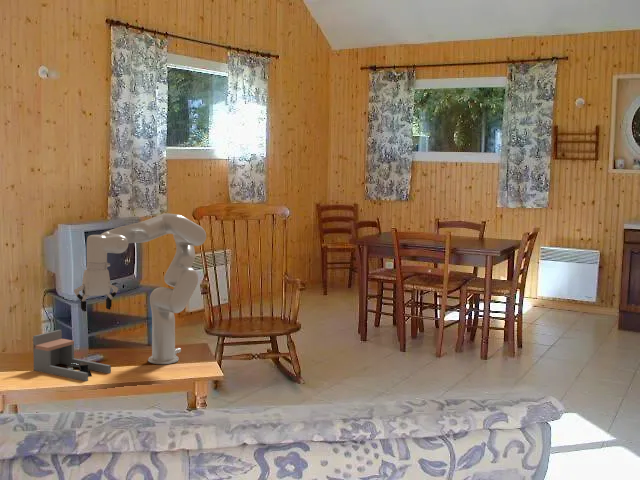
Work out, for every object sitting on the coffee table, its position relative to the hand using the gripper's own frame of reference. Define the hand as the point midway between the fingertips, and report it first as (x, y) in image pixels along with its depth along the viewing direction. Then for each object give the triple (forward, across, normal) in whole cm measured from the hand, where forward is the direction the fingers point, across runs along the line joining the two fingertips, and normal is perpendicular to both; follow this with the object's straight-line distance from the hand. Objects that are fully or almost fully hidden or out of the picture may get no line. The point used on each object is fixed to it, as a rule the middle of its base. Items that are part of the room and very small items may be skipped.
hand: (96, 309), depth 291 cm
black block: (+27, +3, -5) cm, 28 cm away
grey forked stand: (+26, +6, -10) cm, 29 cm away
